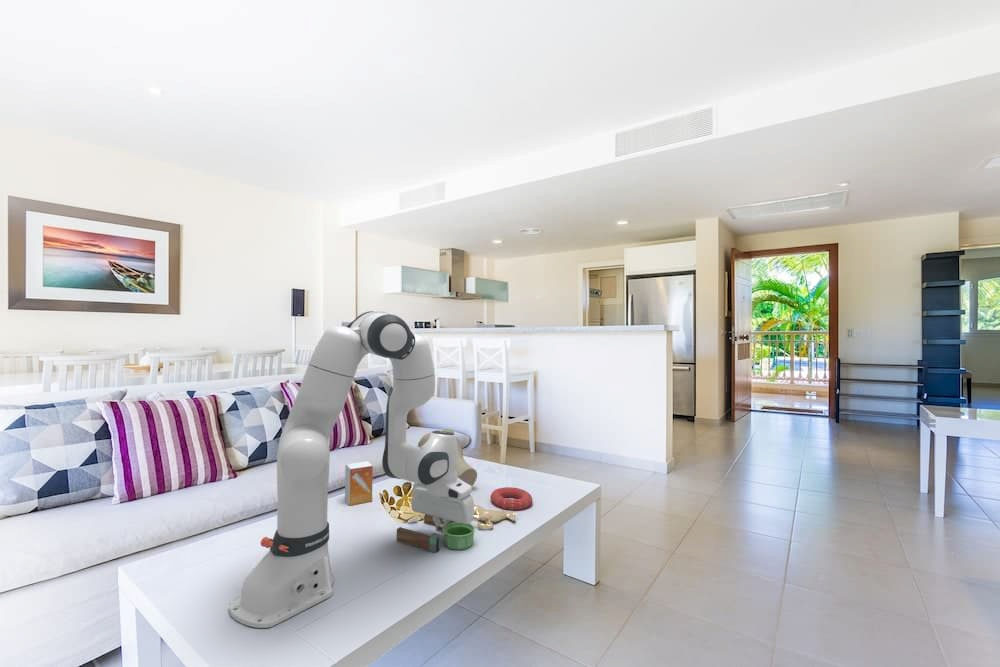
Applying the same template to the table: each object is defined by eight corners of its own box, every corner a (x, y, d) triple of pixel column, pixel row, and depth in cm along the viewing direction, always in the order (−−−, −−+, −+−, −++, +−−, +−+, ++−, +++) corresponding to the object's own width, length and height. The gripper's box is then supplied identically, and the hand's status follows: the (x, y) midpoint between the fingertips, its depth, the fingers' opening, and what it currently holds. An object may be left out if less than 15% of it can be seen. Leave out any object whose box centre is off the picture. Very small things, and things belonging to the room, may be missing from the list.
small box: (349, 506, 155) (349, 469, 155) (344, 500, 160) (345, 464, 160) (372, 501, 159) (373, 465, 159) (367, 495, 165) (367, 460, 164)
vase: (503, 454, 172) (461, 422, 195) (455, 455, 157) (416, 420, 180) (485, 509, 175) (446, 471, 197) (436, 515, 159) (399, 473, 182)
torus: (540, 506, 159) (541, 496, 159) (509, 515, 151) (509, 505, 150) (512, 492, 172) (512, 482, 172) (482, 500, 163) (482, 490, 163)
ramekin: (441, 537, 133) (441, 523, 133) (471, 534, 136) (471, 520, 136) (445, 552, 125) (446, 537, 125) (477, 549, 127) (477, 533, 127)
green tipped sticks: (435, 553, 124) (435, 537, 124) (395, 541, 131) (396, 526, 131) (464, 530, 138) (464, 516, 138) (427, 520, 145) (427, 507, 144)
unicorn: (445, 504, 148) (481, 494, 161) (444, 516, 148) (480, 505, 161) (489, 522, 135) (524, 510, 148) (488, 536, 135) (524, 522, 147)
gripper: (407, 482, 134) (406, 527, 135) (466, 495, 125) (465, 543, 126) (419, 476, 140) (419, 519, 140) (477, 487, 131) (476, 534, 131)
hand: (441, 531), depth 133 cm, fingers closed
